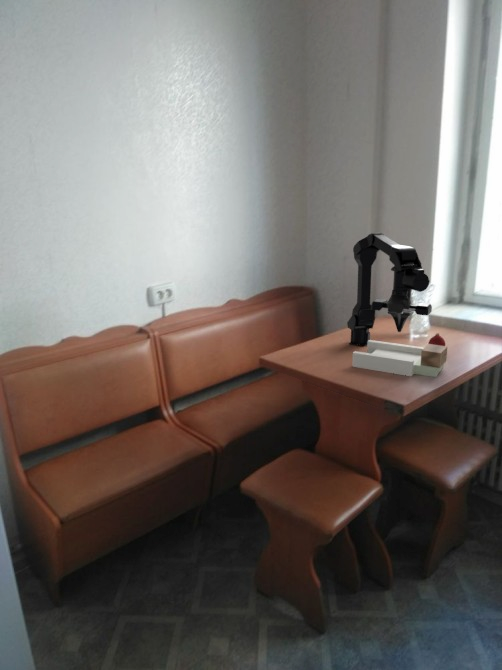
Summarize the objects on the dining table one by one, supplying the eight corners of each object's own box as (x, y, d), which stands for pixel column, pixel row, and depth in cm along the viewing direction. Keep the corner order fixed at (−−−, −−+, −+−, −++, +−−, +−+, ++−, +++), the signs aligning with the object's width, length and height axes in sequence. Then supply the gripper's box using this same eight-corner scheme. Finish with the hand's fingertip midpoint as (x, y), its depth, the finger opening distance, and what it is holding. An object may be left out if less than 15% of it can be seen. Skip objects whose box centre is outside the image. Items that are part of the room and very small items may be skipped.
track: (352, 366, 171) (352, 352, 170) (368, 352, 185) (369, 339, 184) (411, 376, 161) (412, 361, 160) (424, 361, 175) (425, 347, 173)
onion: (445, 357, 178) (447, 335, 176) (428, 356, 179) (430, 335, 177) (443, 352, 184) (444, 331, 182) (426, 351, 185) (428, 330, 183)
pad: (413, 373, 163) (414, 364, 163) (421, 363, 172) (422, 355, 172) (435, 377, 160) (436, 368, 159) (443, 366, 169) (443, 358, 168)
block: (420, 364, 163) (421, 350, 161) (427, 357, 169) (428, 343, 168) (439, 368, 159) (440, 353, 158) (446, 360, 166) (447, 346, 164)
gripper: (366, 288, 162) (364, 334, 166) (425, 293, 152) (421, 341, 157) (377, 282, 171) (375, 326, 175) (433, 286, 162) (430, 333, 166)
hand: (399, 331), depth 168 cm, fingers closed
